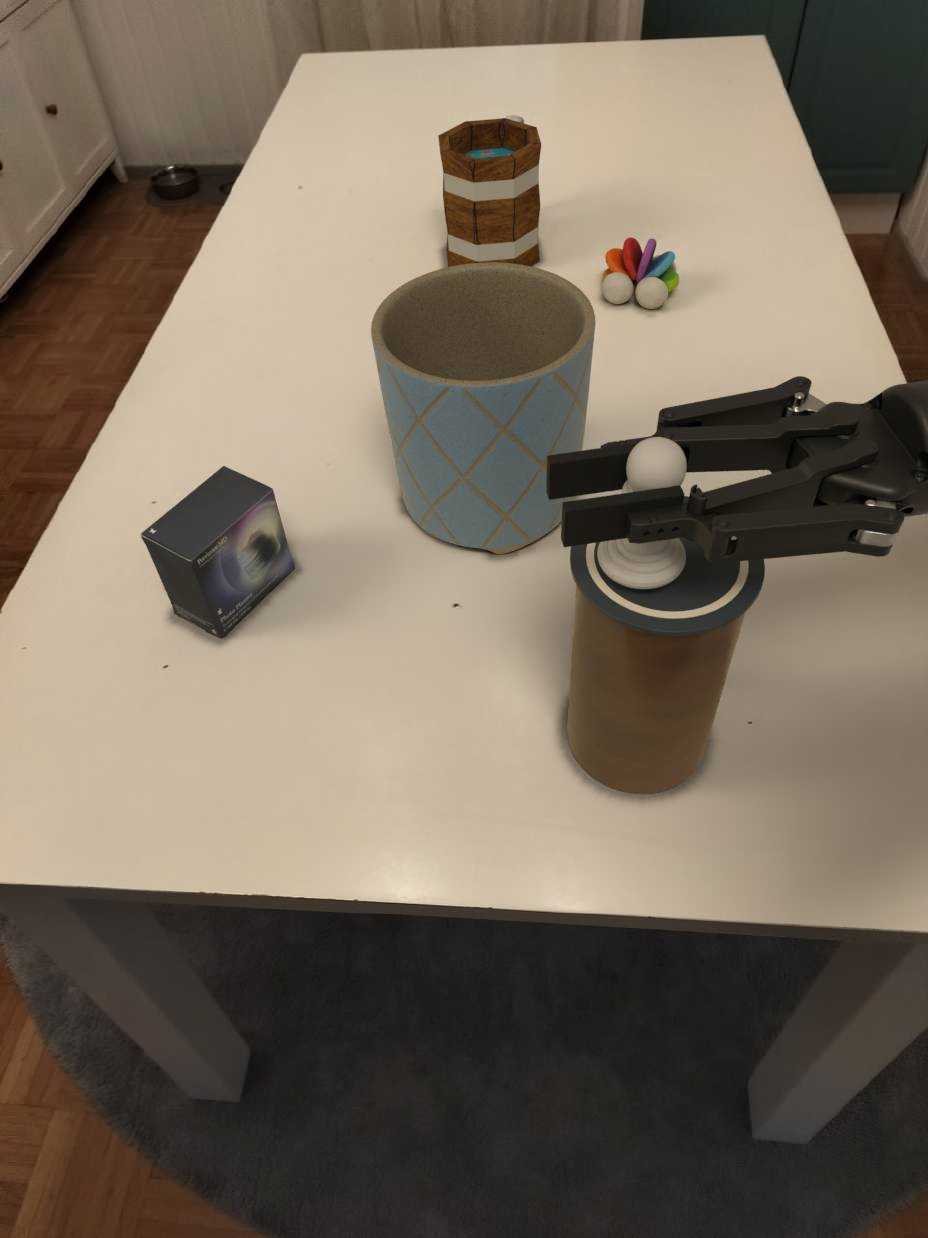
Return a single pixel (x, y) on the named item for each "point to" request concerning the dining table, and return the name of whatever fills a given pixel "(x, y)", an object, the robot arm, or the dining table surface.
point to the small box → (220, 550)
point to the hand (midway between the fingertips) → (556, 500)
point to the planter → (484, 397)
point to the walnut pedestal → (643, 699)
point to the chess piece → (651, 561)
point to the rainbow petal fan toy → (639, 274)
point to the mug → (491, 191)
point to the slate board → (672, 592)
